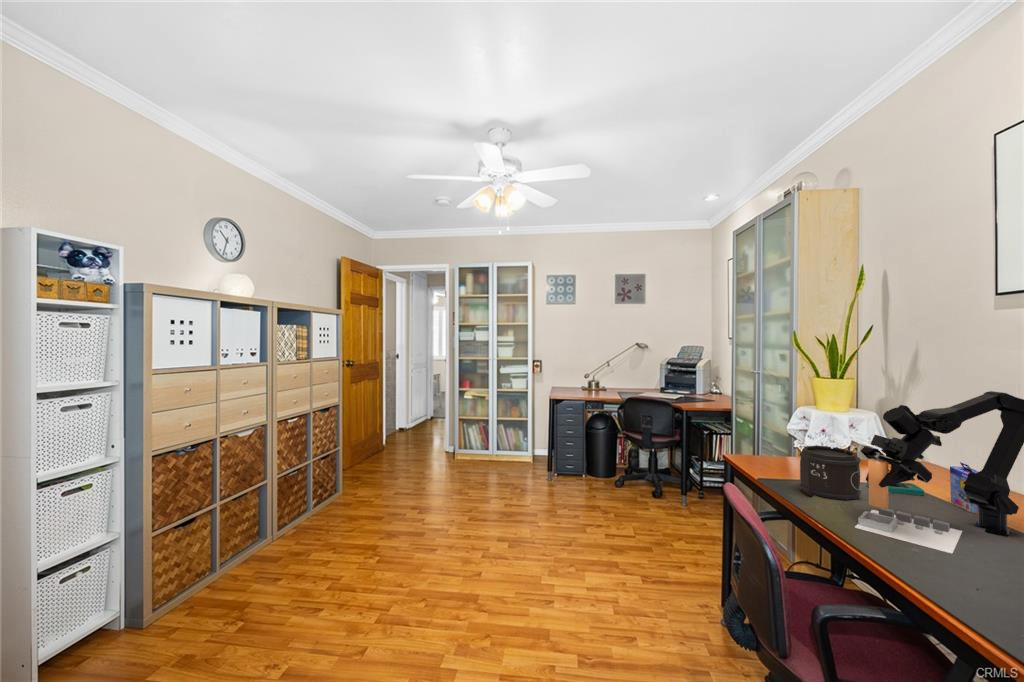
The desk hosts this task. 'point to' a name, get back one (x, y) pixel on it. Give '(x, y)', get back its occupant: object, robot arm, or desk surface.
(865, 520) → the socket collar
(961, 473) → the ink cartridge box
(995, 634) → the desk surface
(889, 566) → the desk surface
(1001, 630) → the desk surface
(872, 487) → the plug
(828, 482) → the black drum container
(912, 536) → the breaker panel
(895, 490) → the digital multimeter
